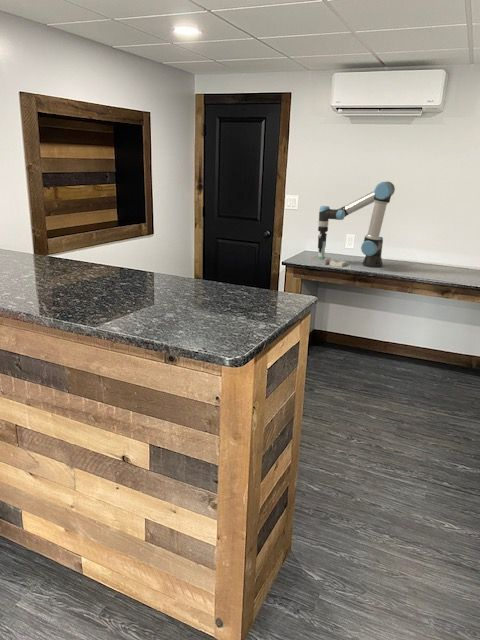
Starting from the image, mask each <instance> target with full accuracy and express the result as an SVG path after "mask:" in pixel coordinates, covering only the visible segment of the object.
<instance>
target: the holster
mask: <svg viewBox="0 0 480 640" xmlns="http://www.w3.org/2000/svg"><path fill="white" fill-rule="evenodd" d="M346 264H347V261H345V260H339V259H337V260H336V259H333V260H330V263H328V266H332V267H344V266H345V265H346Z"/></svg>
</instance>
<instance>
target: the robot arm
mask: <svg viewBox="0 0 480 640" xmlns="http://www.w3.org/2000/svg"><path fill="white" fill-rule="evenodd" d="M374 187H375V188H374V190H373V191H371V192H369V193H367V194H365V195H363V196H361V197H359V198H357V199H355V200H354V201H352V202H349V203H348V204H345V205H343V206H342V207H340V208H337V209H335V208H334V209H333V208H332V209H331V208H330V206H328V205H322V206H319V209H318V210H319V212H318V213H319V214H318V221H317V223H318V227H317V231H318V232H319V235H318V236H317V237H318V238H317V239H318V241H317V249H318V248H319V254H318V253H317V255H318V256H320V257H322V245H323V241H325V248H326V243H327V235H328V233H327V232H328V231H329V227H328V226H329V220H338V221H343V220H344V219H345V217H347V216H349V215H352V214H353V213H356V212H357V211H359V210H361V209H363V208H364V207H367V206H369V205H371V204H373V203H374V206H373V209H372V213H371V218H370V222H369V226H368V231H367V233H366V235H364V240H363V242H362V243H361V246H360V250H361V252H362V253H363V255H365V257H364V259H363V262H362V265H363V266H364V267H369V268H382V267H383V258H382V251H383V244H384V238H383V237H382V236H380V234H381V230H382V227H383V222H384V219H385V218H384V217H385V215H386V210H387V205H388V204H390V201H391V198H392V196H393V195H394V194H395V191H396V189H395V185H394V184H393V183H392V182H391V181H381V182H379V183H377V185H376V186H374Z"/></svg>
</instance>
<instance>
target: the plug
mask: <svg viewBox="0 0 480 640" xmlns="http://www.w3.org/2000/svg"><path fill="white" fill-rule="evenodd" d="M317 249H318V250H317V255H318V254H319V248H318V247H317ZM325 250H326V247H325V241H323V245H322V257H320V256H318V258H320V259H324V257H325Z"/></svg>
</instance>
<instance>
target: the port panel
mask: <svg viewBox="0 0 480 640" xmlns="http://www.w3.org/2000/svg"><path fill="white" fill-rule="evenodd" d="M331 261H332V260H331V257H329V256H324V259H320V258H318V254H317V255H315V256H313V257H311V259H310V264H313V265H323V266H326V265H329V264H330V262H331Z"/></svg>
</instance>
